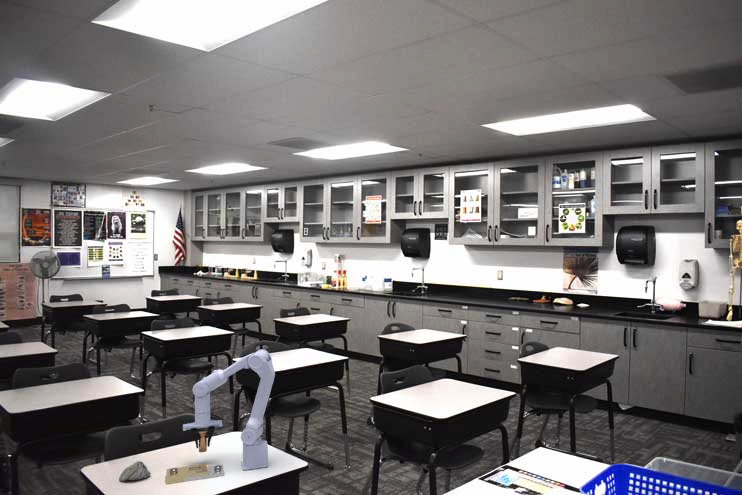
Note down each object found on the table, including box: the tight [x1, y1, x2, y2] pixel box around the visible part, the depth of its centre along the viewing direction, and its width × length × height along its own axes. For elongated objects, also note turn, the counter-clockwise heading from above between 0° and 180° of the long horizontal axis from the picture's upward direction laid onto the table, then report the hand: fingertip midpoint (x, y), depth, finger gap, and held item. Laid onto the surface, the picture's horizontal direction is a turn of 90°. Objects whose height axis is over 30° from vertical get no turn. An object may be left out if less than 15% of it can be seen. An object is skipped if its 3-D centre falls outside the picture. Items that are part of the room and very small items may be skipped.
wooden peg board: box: [165, 463, 225, 485], centre depth 195 cm, size 20×8×3 cm, turn 110°
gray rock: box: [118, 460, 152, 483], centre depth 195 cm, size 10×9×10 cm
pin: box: [198, 430, 208, 453], centre depth 206 cm, size 4×4×7 cm
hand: (202, 446), depth 206 cm, fingers closed on pin, 3 cm apart
